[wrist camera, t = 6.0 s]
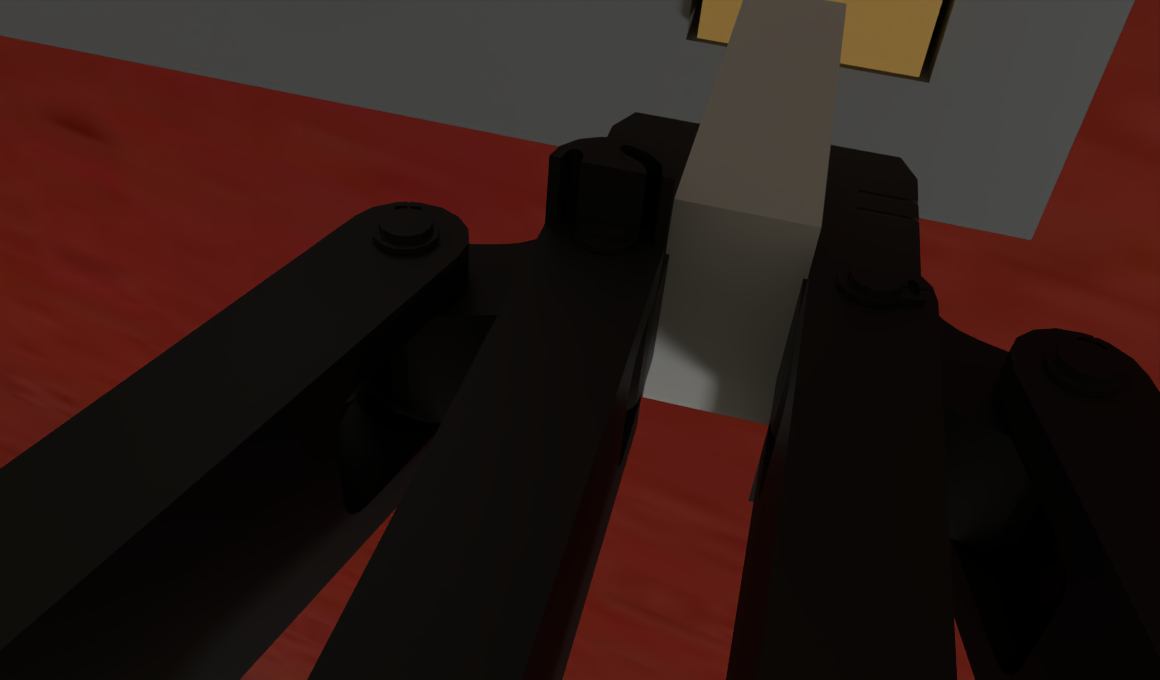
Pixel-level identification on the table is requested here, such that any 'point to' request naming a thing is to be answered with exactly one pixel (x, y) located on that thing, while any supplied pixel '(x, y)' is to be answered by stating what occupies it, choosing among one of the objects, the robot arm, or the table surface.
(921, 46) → the amber button
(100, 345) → the table surface
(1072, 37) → the button panel
